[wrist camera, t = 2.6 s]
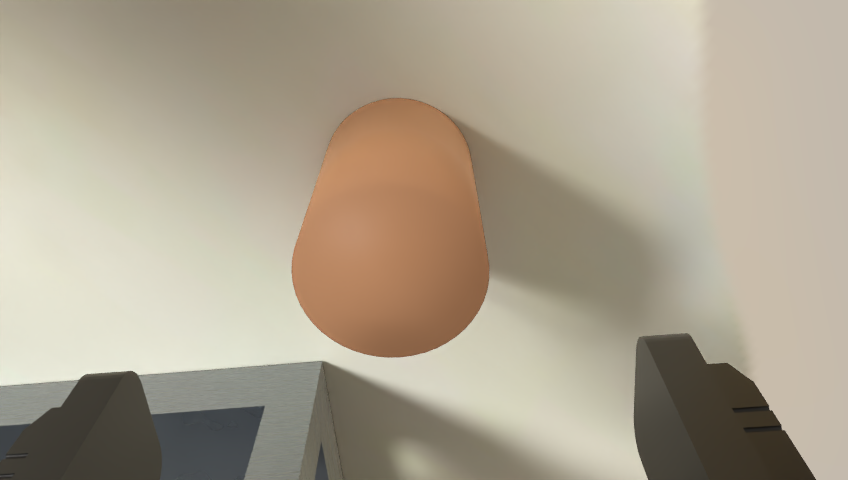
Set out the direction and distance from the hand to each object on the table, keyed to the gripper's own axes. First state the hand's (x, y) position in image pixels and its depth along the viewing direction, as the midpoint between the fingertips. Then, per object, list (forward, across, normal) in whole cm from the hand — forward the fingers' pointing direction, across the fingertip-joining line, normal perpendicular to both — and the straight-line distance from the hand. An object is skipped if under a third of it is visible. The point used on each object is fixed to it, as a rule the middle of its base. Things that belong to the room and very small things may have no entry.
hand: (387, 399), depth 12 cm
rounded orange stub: (+10, 0, 0) cm, 10 cm away
